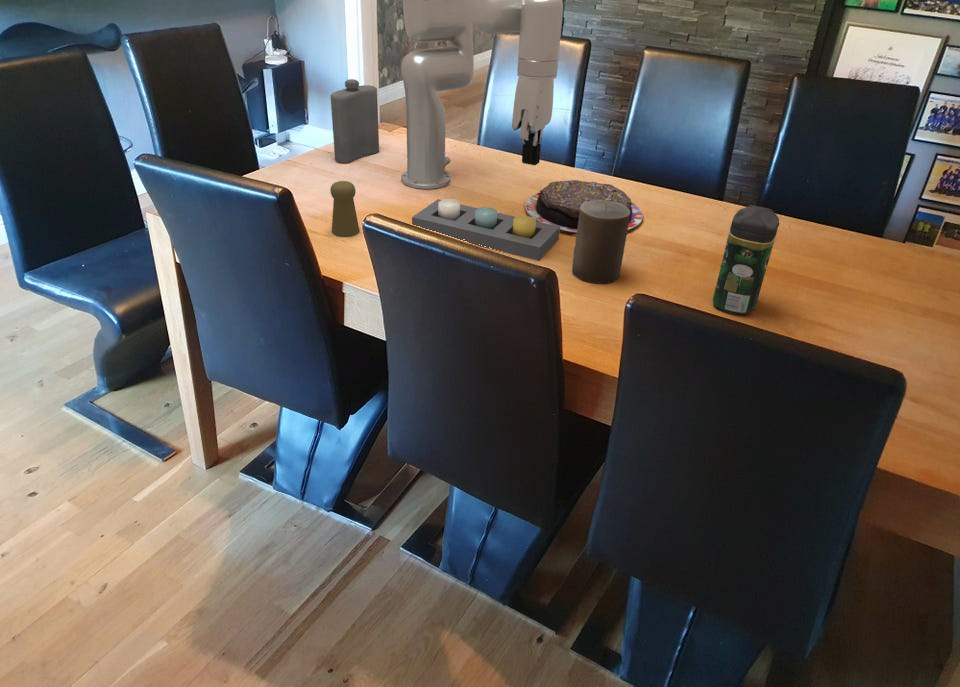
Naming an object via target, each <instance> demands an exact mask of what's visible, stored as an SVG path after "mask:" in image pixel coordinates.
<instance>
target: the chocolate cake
mask: <svg viewBox="0 0 960 687" xmlns="http://www.w3.org/2000/svg"><path fill="white" fill-rule="evenodd" d="M597 200H603V201H610V202H616V203H619V204H622V205H624V206H626V207H627V208H628V209H629V210H630V217H629V224H628V229H627V232H628V231H633V230H635V229H636V228H637V227H638V226H639V225H640V224H641V223H642V221H643V219H644V213H643V210H642V209H641V208H640V207H639V206H638V205H637V204H635V203H633V202H632V199H631V197H629V196H628V194H627V193H626V192H625V191H623V190H621V189H620V188H617V187H616V186H614V185H613V184H609V183H600V182H597V181H589V182H588V181H586V180H585V181H584V180H578V179H571V180H570V179H569V180H563V181H562V180H559V181H558V180H556V181H552V182H549V183H548V185H547V186H545V187H543V189H540V190H539V192H537V193H535V194H532V195H531V196H530V197H528V199H527V200H526V202H525V203H524V207H525V211H526V213H527V216H530V217H533V218H535V219H536V221H537V222H542V223H546V224H551V225H555V226H559V227H560V232H561V233H563V234H566V235H571V236H572V235H573V236H574V235H575V236H576V235H577V228H578V221H579V213H580V207H581V205H582V204H583V202H588V201H597Z"/></svg>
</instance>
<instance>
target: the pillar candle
mask: <svg viewBox="0 0 960 687" xmlns="http://www.w3.org/2000/svg"><path fill="white" fill-rule="evenodd" d="M629 217H630V210H629V209H628V208H627V207H626V206H624V205H622V204H619V203H616V202H610V201H603V200H597V201H588V202H583V204H582V205H581V207H580V213H579V221H578V228H577V234H576V235H575V236H576V237H575V243H574V249H573V258H572V266H571V271H572V274H573V275H574V276H575V277H576V278H578V279H579V280H582V281H583V282H587V283H591V284H592V283H593V284H610V283H613V282H616V281H617V280H618V279H619V278H620V275H621V270H622V263H623V258H624V252H625V246H626V241H627V234H628V231H627V229H628V224H629Z"/></svg>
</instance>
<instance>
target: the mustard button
mask: <svg viewBox="0 0 960 687" xmlns="http://www.w3.org/2000/svg"><path fill="white" fill-rule="evenodd" d="M535 228H536V219H535V218H533V217H530V216H529V215H518V216H515V218H514V220H513V233H512V234H513V235H517V236H521V237H526V238H530V239H532V238H533V237H534V236H535Z"/></svg>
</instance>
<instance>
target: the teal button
mask: <svg viewBox="0 0 960 687" xmlns="http://www.w3.org/2000/svg"><path fill="white" fill-rule="evenodd" d="M477 208H478V209H476V210H475V226H479V227H483V228H487V229H492V230H493V229H494V228H495V227H496V226H497V213H498V210H497V209H495V208H493V207H487V206H483V207H477Z"/></svg>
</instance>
